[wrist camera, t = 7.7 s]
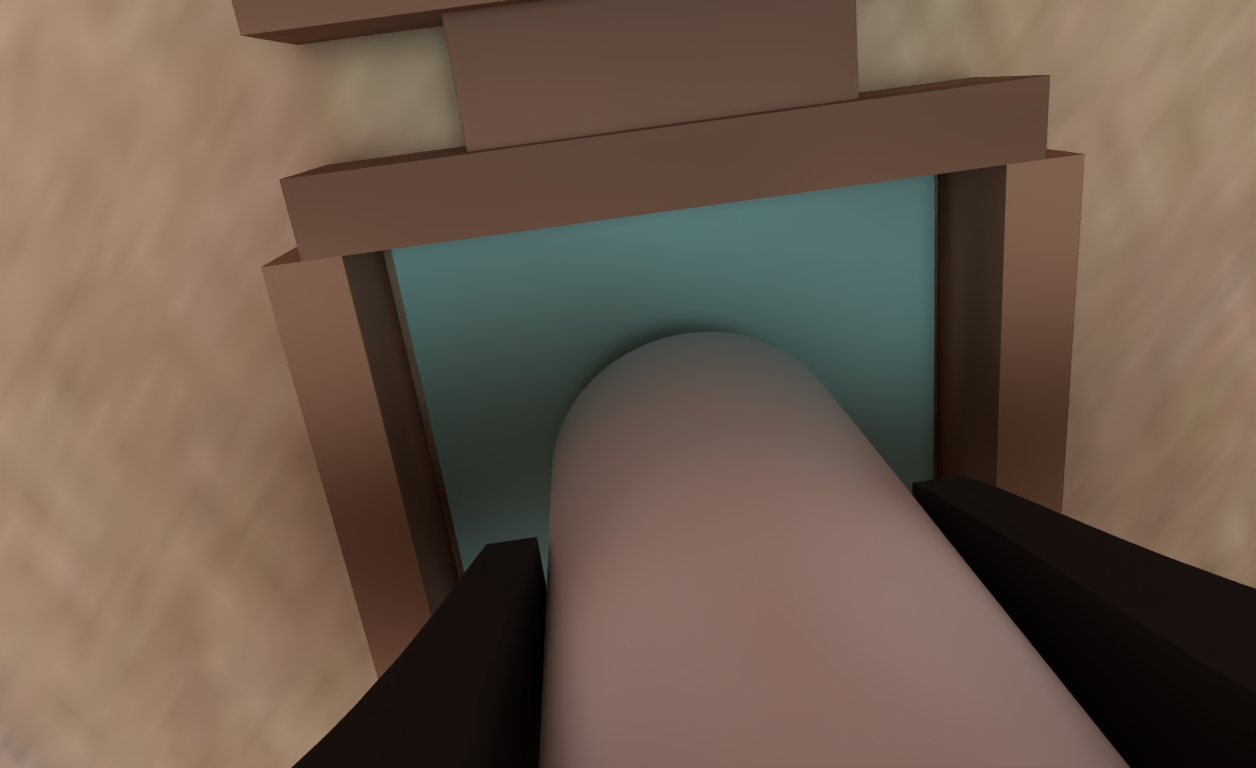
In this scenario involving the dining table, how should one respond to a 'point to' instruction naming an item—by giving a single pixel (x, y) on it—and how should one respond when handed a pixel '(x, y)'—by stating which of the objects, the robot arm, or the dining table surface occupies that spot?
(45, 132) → the dining table surface
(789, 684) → the tube
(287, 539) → the dining table surface
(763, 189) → the brown flat frame
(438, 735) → the robot arm
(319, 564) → the dining table surface
